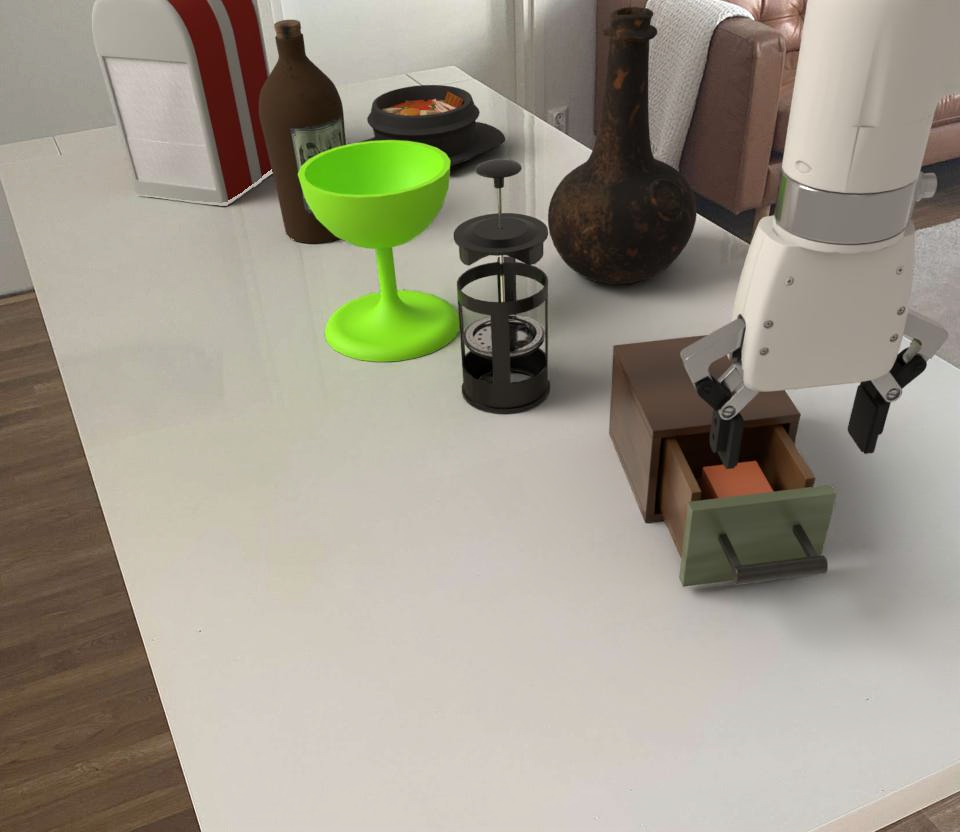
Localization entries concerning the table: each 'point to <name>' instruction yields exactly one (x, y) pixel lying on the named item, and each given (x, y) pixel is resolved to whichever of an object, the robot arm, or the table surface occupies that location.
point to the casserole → (433, 121)
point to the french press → (503, 305)
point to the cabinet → (670, 410)
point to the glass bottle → (623, 177)
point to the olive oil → (298, 127)
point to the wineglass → (382, 241)
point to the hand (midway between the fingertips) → (792, 450)
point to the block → (733, 481)
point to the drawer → (744, 512)
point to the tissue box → (185, 93)
